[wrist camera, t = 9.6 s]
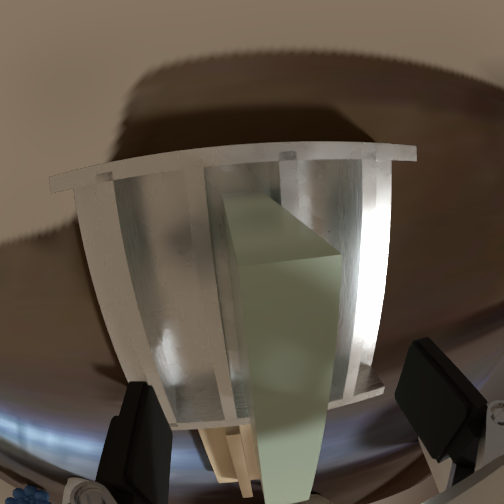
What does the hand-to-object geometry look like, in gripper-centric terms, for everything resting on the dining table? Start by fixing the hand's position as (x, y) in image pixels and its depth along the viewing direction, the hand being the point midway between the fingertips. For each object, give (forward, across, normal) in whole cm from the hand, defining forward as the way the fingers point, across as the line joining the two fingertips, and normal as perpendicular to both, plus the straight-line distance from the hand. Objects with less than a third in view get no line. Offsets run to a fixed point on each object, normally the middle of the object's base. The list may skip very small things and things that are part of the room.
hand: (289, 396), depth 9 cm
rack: (+10, +1, 0) cm, 10 cm away
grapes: (+8, +43, +39) cm, 59 cm away
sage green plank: (+8, +1, 0) cm, 8 cm away
